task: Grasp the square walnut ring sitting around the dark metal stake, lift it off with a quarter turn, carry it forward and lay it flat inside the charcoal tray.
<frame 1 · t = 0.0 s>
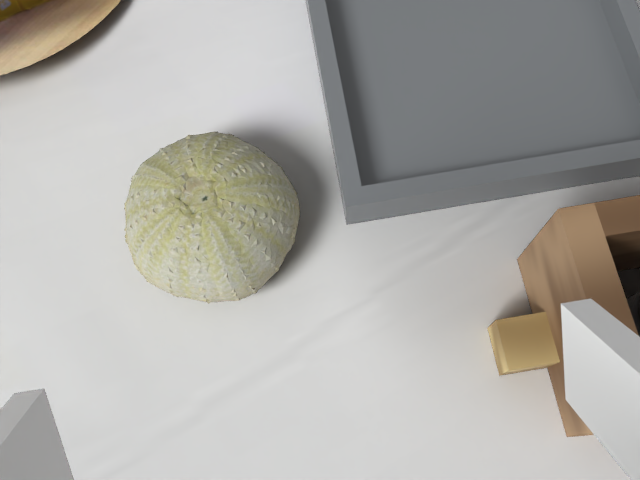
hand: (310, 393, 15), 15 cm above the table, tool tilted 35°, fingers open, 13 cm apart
stake: (629, 328, 30), on the table
tray: (470, 60, 36), on the table
sea urchin shell: (220, 231, 34), on the table
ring: (629, 328, 30), on the table
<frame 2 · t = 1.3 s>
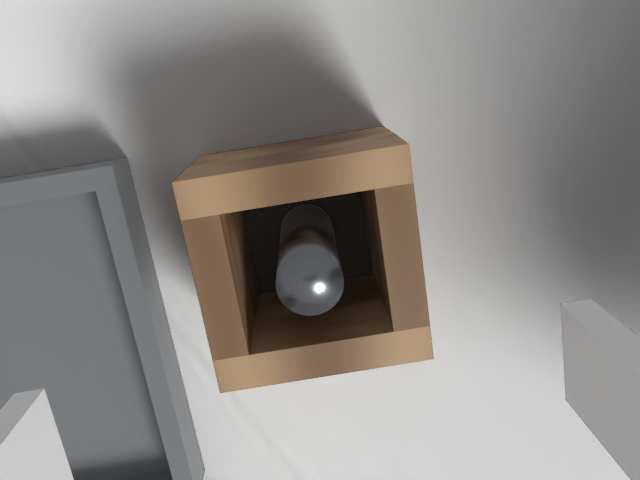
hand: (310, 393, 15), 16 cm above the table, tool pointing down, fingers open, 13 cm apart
stake: (306, 229, 31), on the table
tray: (0, 353, 32), on the table
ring: (306, 229, 31), on the table
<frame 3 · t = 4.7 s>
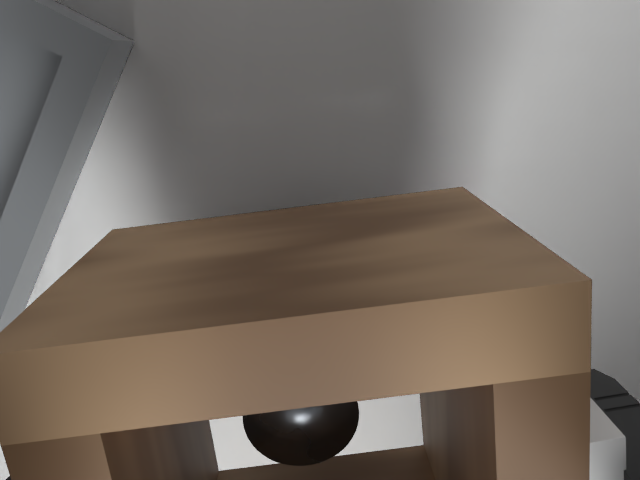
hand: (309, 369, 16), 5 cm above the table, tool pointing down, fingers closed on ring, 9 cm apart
stake: (295, 285, 21), on the table
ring: (308, 365, 17), point 5 cm above the table, touching gripper
when the fingers open (3 cm above the table, at t = 9.2 s): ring drops 1 cm, resting on tray.
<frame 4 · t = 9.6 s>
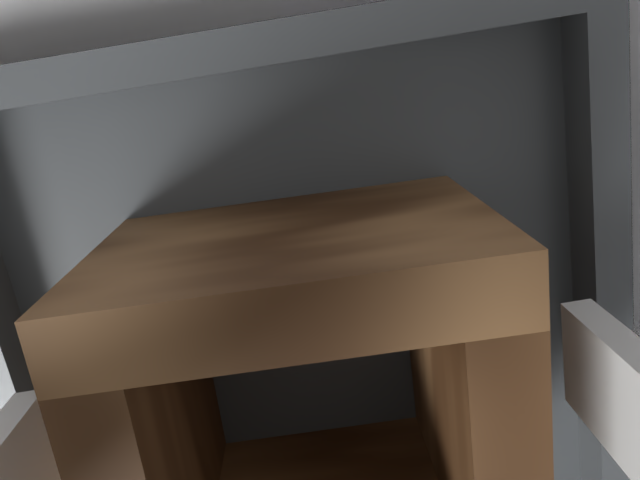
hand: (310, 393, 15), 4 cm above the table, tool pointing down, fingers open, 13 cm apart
tray: (307, 328, 19), on the table
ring: (308, 343, 18), point 1 cm above the table, touching tray
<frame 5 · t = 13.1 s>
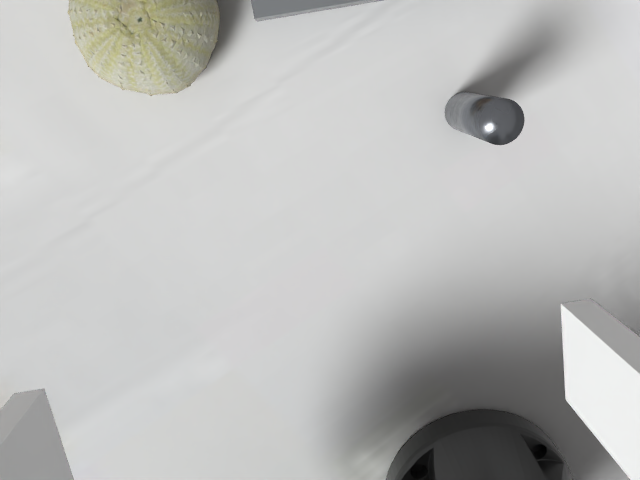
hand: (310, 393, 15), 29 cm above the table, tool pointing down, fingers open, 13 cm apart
stake: (463, 111, 42), on the table
sea urchin shell: (152, 22, 40), on the table
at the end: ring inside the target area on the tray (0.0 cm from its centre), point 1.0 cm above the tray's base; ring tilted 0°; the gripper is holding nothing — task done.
